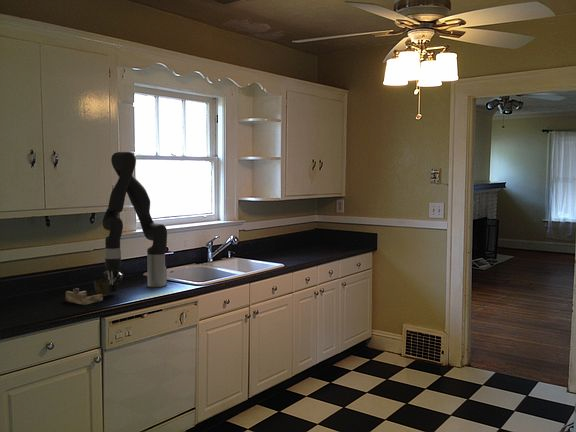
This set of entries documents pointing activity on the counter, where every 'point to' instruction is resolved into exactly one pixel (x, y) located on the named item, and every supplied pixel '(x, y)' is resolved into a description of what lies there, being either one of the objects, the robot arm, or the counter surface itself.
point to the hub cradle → (82, 297)
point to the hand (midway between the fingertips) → (113, 291)
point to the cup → (102, 286)
